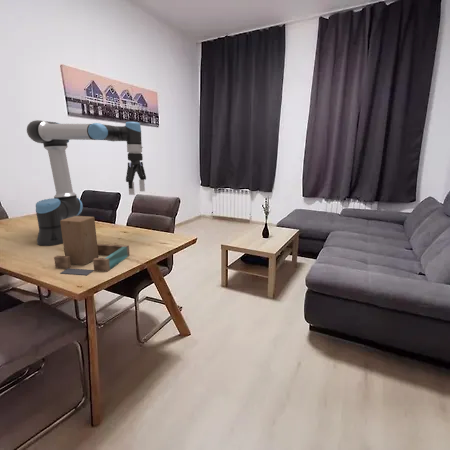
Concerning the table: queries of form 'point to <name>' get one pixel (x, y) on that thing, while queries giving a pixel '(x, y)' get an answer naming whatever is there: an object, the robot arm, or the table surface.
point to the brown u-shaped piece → (100, 264)
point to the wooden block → (79, 239)
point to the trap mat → (77, 271)
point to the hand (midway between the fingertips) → (137, 192)
